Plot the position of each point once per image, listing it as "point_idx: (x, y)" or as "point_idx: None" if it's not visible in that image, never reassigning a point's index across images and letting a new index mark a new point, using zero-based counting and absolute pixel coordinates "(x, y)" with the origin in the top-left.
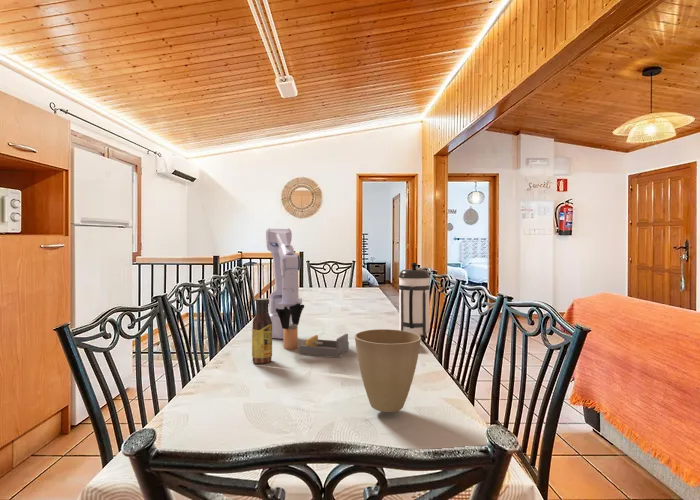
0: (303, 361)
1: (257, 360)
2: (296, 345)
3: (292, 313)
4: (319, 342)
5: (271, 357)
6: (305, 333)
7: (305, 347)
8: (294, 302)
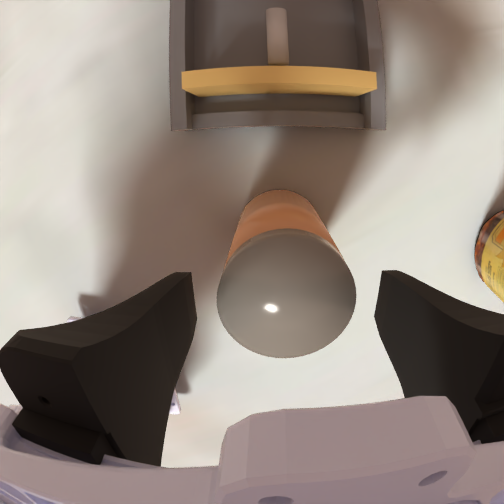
0: (464, 70)
1: None
2: (284, 195)
3: (167, 395)
4: (284, 22)
5: (499, 217)
6: (9, 300)
7: (382, 87)
8: (479, 473)
